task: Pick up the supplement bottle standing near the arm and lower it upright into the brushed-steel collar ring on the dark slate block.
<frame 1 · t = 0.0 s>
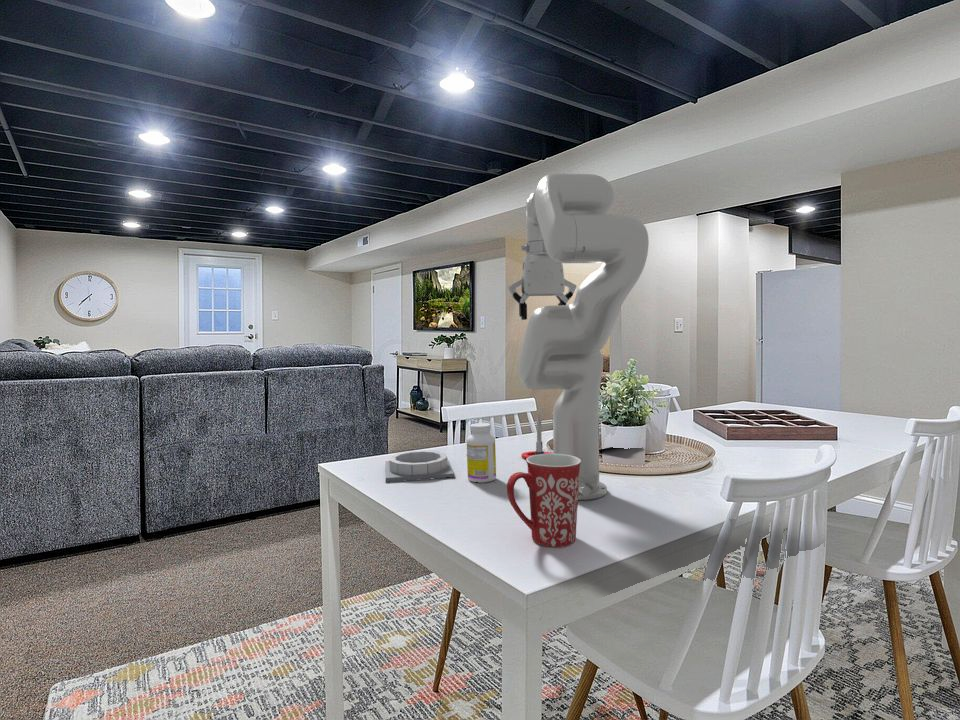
hand: (542, 319, 140), 37 cm above the table, tool pointing down, fingers open, 9 cm apart
supplement bottle: (481, 480, 130), on the table
tow hook: (537, 458, 149), on the table
mug: (544, 541, 93), on the table
ring block: (418, 471, 138), on the table
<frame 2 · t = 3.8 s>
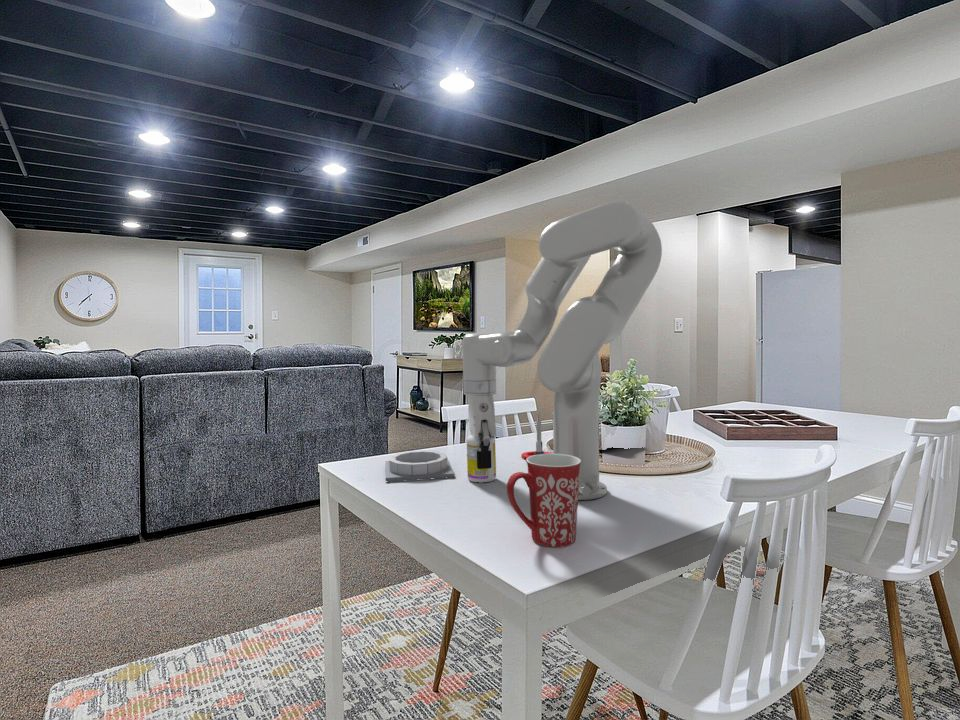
hand: (481, 463, 129), 4 cm above the table, tool pointing down, fingers closed on supplement bottle, 6 cm apart
supplement bottle: (481, 480, 130), on the table, touching gripper
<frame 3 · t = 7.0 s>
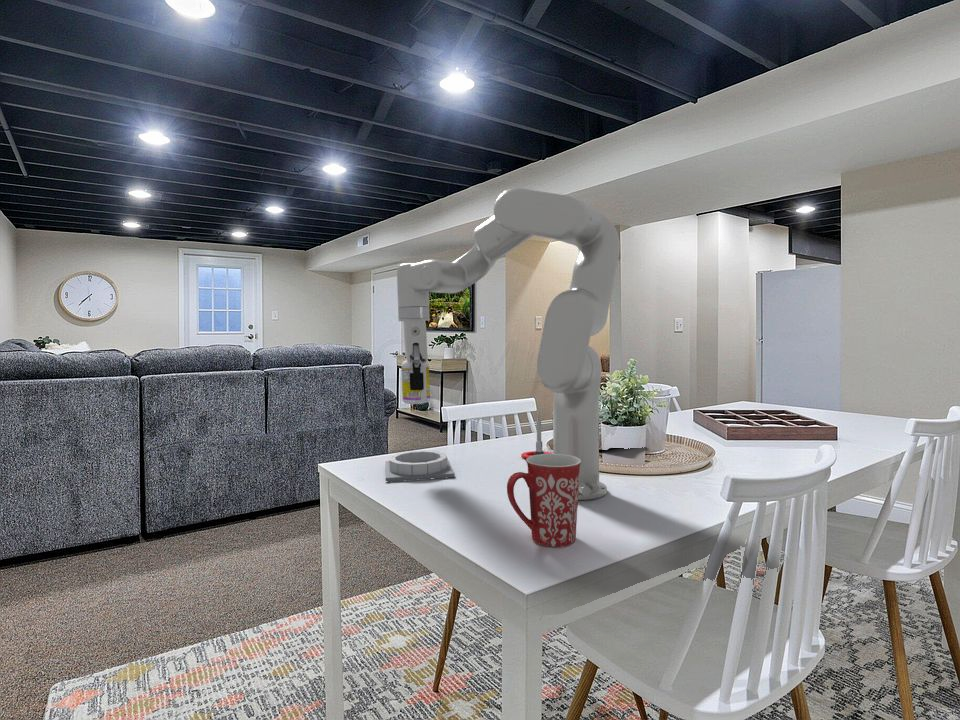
hand: (416, 387, 137), 21 cm above the table, tool pointing down, fingers closed on supplement bottle, 6 cm apart
supplement bottle: (416, 403, 137), point 17 cm above the table, touching gripper
when the fingers open (6 cm above the table, at t = 10.5 s): supplement bottle drops 1 cm, resting on ring block.
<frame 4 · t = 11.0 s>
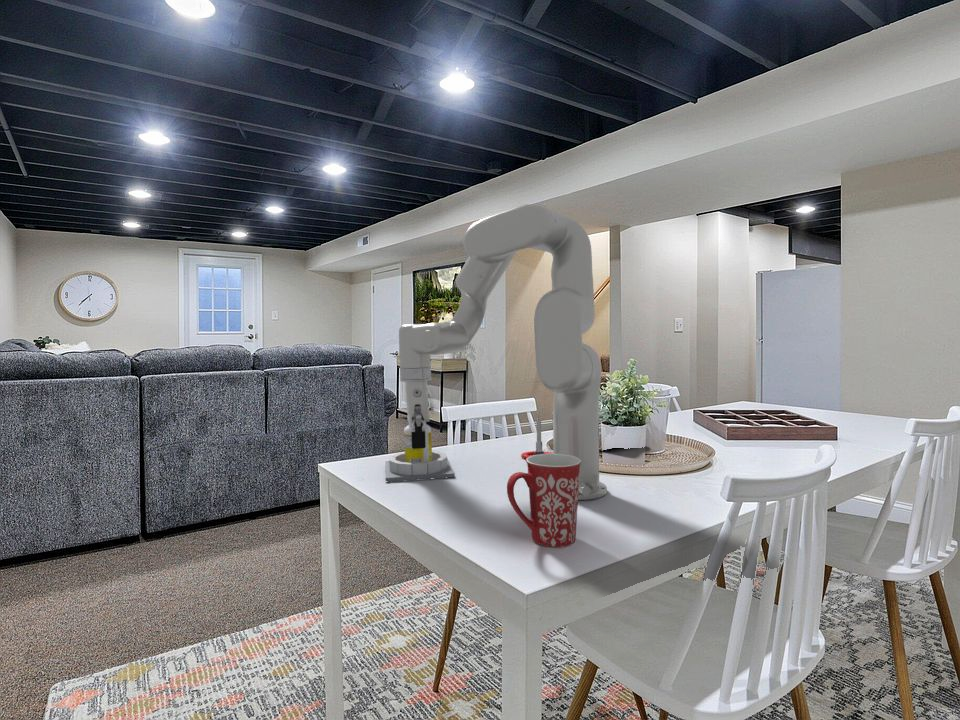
hand: (417, 443, 138), 7 cm above the table, tool pointing down, fingers open, 9 cm apart
supplement bottle: (418, 467, 138), point 1 cm above the table, touching ring block
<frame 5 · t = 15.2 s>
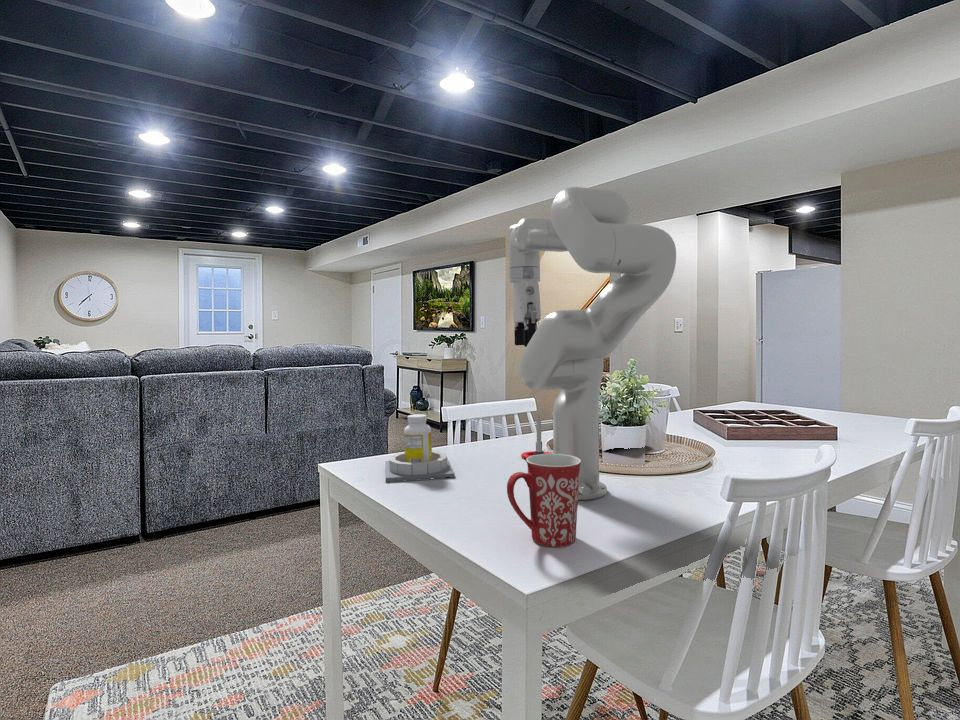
hand: (525, 345, 138), 30 cm above the table, tool pointing down, fingers open, 9 cm apart
at the end: supplement bottle 0.1 cm off-centre on the ring block, point 0.8 cm above the ring block's base; supplement bottle tilted 0°; the gripper is holding nothing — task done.
